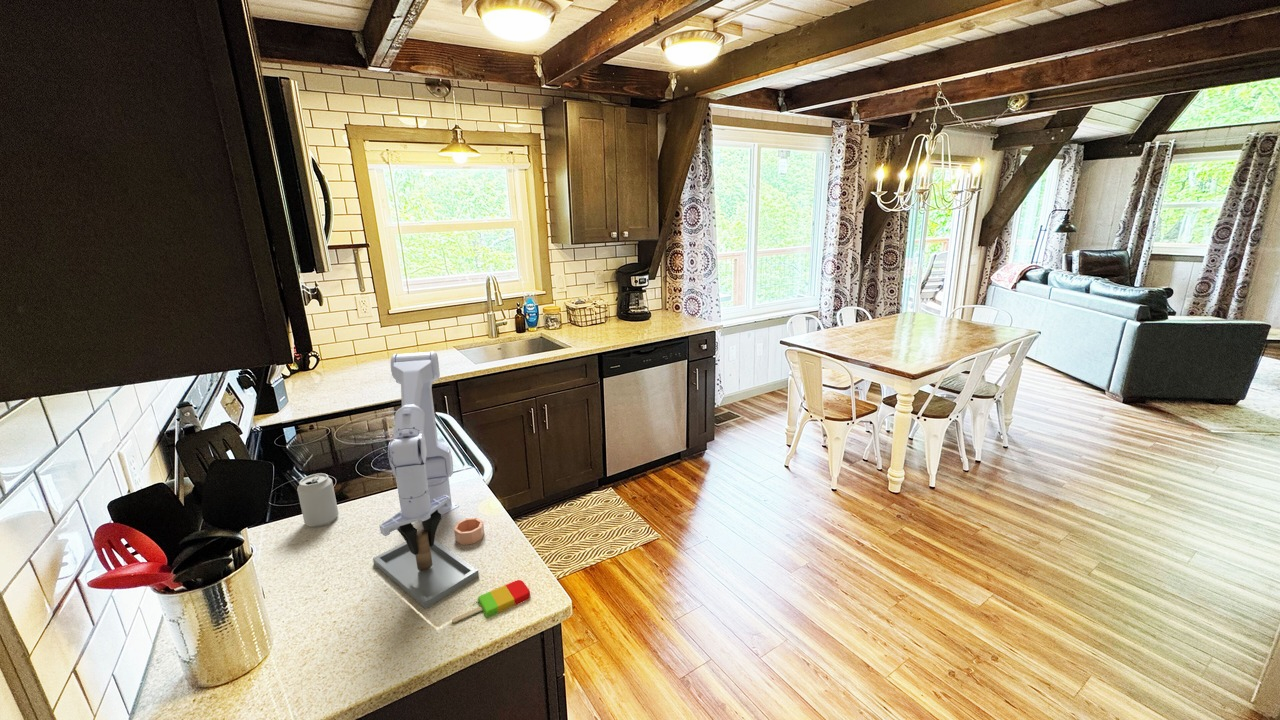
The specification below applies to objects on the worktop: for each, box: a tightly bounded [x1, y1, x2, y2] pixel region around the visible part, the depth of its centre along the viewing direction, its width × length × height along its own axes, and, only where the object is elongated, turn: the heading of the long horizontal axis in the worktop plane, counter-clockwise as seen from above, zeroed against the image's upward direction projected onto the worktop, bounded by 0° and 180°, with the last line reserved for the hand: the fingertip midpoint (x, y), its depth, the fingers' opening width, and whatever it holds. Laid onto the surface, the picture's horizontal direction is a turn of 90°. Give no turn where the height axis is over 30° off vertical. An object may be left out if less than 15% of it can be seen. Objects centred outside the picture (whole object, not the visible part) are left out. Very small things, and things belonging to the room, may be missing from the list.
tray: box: [372, 539, 480, 610], centre depth 109 cm, size 22×12×2 cm, turn 51°
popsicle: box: [451, 579, 531, 624], centre depth 99 cm, size 6×15×2 cm, turn 125°
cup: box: [453, 517, 485, 546], centre depth 120 cm, size 6×6×4 cm
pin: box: [416, 529, 432, 571], centre depth 108 cm, size 3×3×8 cm
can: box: [296, 472, 339, 528], centre depth 128 cm, size 8×8×12 cm
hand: (422, 548), depth 108 cm, fingers closed on pin, 3 cm apart
